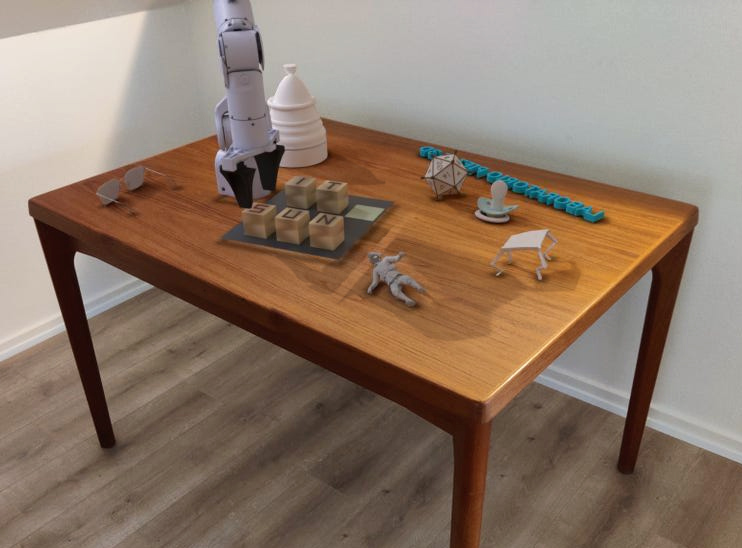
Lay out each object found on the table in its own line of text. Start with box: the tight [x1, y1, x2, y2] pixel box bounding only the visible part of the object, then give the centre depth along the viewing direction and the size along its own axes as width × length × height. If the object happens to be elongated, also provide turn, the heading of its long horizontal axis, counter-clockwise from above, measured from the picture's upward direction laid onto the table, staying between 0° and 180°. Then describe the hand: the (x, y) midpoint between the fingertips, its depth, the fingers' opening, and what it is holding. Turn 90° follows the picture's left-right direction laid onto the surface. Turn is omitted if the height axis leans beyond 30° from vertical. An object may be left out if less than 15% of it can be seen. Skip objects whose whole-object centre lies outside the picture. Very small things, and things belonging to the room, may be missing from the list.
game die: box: [419, 149, 473, 201], centre depth 135 cm, size 9×8×10 cm
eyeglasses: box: [95, 165, 179, 215], centre depth 139 cm, size 14×8×4 cm, turn 155°
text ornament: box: [419, 146, 606, 223], centre depth 141 cm, size 45×3×1 cm, turn 39°
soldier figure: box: [366, 251, 427, 307], centre depth 108 cm, size 8×5×12 cm
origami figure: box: [489, 228, 559, 281], centre depth 112 cm, size 12×8×5 cm
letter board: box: [219, 175, 395, 261], centre depth 127 cm, size 22×24×5 cm
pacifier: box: [474, 180, 519, 224], centre depth 127 cm, size 7×6×6 cm
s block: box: [241, 201, 277, 239], centre depth 123 cm, size 4×4×4 cm
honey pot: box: [266, 63, 328, 168], centre depth 151 cm, size 13×13×18 cm
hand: (257, 198), depth 120 cm, fingers open, 7 cm apart
